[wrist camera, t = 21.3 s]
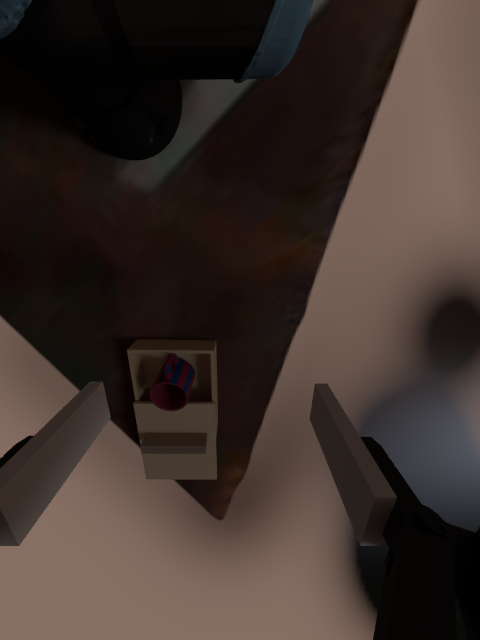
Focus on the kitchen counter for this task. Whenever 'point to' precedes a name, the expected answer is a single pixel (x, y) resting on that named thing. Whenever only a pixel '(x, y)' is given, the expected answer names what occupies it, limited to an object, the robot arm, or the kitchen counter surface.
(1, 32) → the robot arm
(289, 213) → the kitchen counter surface
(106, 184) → the kitchen counter surface
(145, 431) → the lid
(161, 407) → the mug
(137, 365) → the beige open box
